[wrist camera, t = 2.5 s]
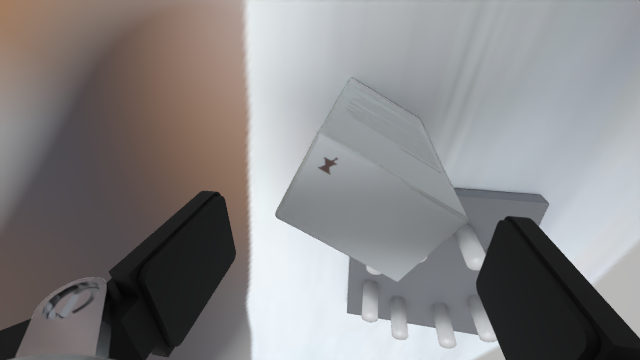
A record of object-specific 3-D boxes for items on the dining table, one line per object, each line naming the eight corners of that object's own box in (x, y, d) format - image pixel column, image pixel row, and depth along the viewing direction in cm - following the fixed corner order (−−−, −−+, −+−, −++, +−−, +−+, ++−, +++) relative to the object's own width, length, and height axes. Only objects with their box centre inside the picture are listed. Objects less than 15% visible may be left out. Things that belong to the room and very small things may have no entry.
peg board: (354, 180, 22) (349, 212, 18) (540, 194, 20) (582, 235, 16) (348, 303, 30) (343, 345, 26) (481, 324, 28) (499, 374, 24)
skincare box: (323, 126, 21) (267, 216, 10) (351, 75, 19) (317, 125, 8) (388, 164, 21) (398, 287, 11) (423, 119, 19) (477, 219, 9)
